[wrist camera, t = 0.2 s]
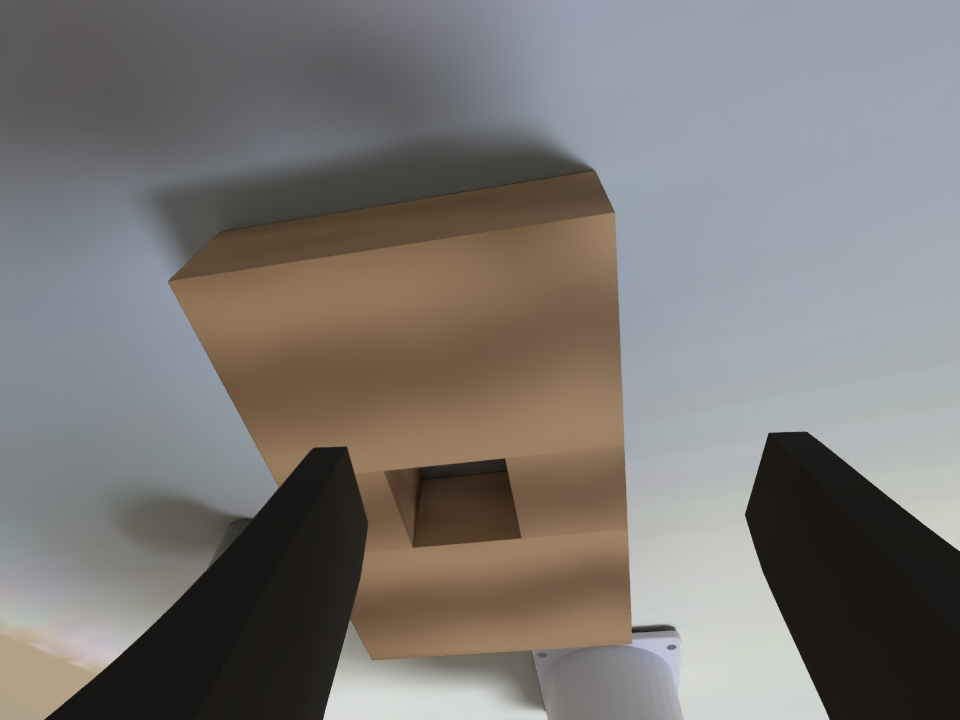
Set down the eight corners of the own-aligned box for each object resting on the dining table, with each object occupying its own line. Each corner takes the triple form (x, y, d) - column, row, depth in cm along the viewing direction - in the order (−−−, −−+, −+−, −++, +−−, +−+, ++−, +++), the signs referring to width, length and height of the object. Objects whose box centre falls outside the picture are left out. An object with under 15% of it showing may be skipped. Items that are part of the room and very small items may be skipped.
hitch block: (618, 574, 28) (632, 644, 25) (384, 592, 29) (372, 660, 26) (595, 170, 17) (614, 212, 14) (220, 232, 18) (167, 281, 15)
